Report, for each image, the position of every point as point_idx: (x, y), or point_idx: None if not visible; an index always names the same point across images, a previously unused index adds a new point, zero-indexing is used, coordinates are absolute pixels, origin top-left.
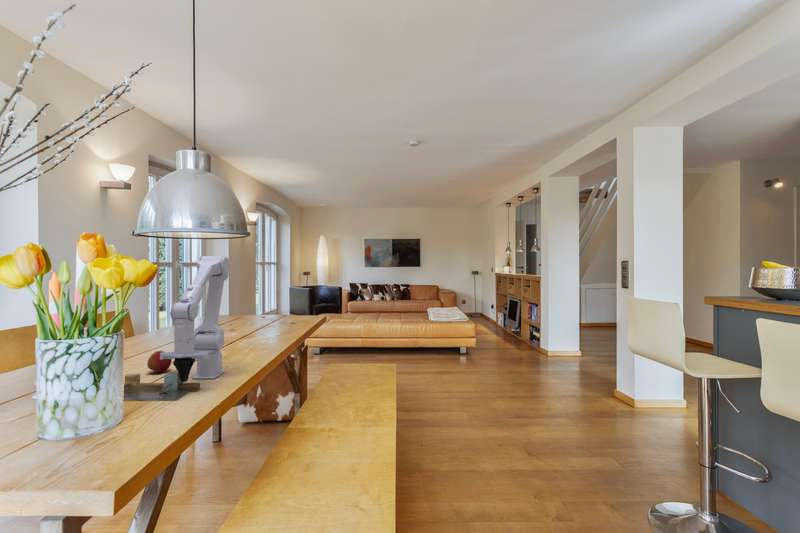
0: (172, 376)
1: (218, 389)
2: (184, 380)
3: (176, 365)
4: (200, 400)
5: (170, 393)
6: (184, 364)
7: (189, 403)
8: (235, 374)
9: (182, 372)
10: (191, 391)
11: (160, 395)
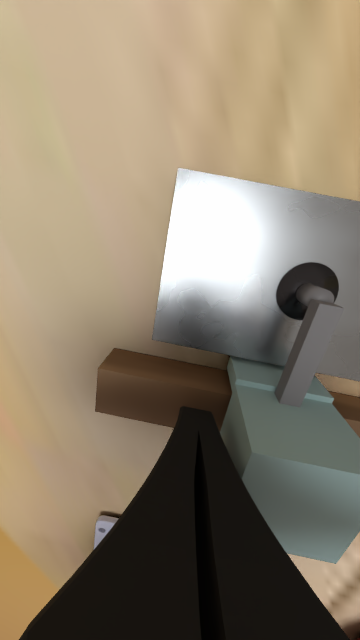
0: (295, 448)
1: (6, 360)
2: (182, 411)
3: (305, 632)
4: (12, 145)
5: (255, 293)
6: (117, 628)
7: (61, 74)
8: (34, 545)
9: (193, 476)
10: (145, 354)
11: (320, 258)
